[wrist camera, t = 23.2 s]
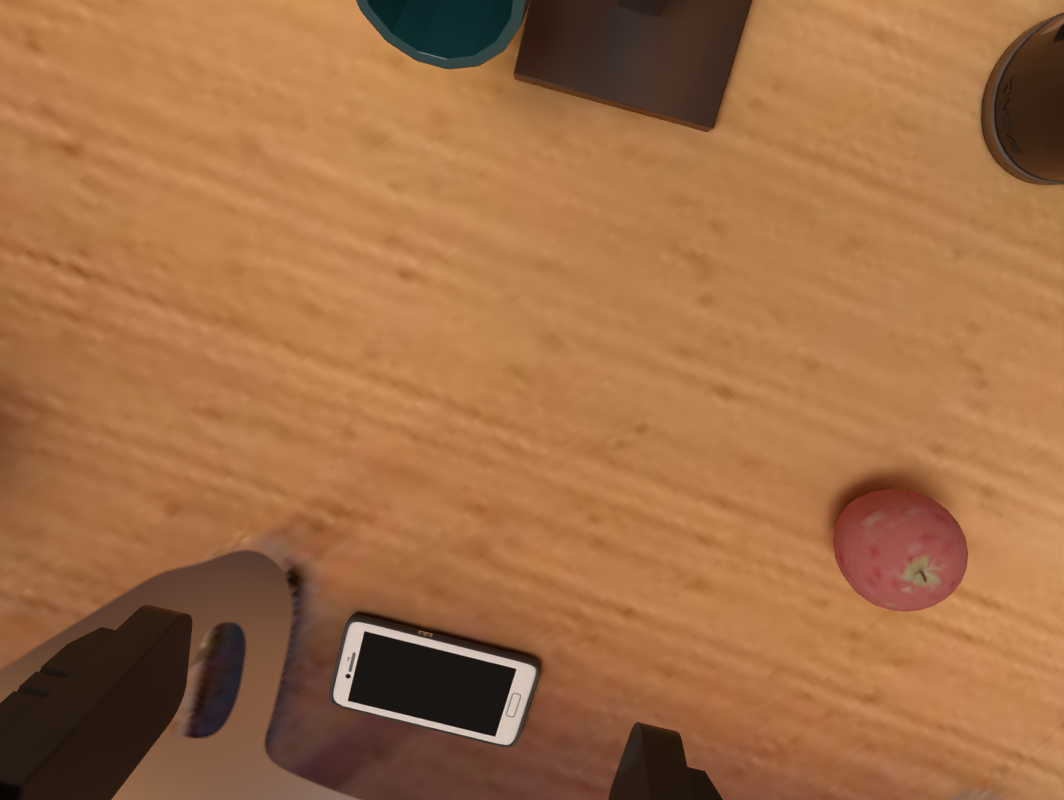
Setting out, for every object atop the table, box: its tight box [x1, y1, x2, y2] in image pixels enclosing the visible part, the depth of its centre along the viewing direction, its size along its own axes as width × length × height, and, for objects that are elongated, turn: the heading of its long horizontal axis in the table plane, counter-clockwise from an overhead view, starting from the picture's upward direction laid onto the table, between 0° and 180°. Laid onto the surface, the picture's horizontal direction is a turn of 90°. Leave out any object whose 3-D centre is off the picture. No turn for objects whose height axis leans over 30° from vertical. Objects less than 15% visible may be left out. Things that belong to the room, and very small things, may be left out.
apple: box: [833, 489, 968, 611], centre depth 42 cm, size 7×7×8 cm
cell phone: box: [329, 615, 540, 747], centre depth 49 cm, size 8×15×1 cm, turn 75°
